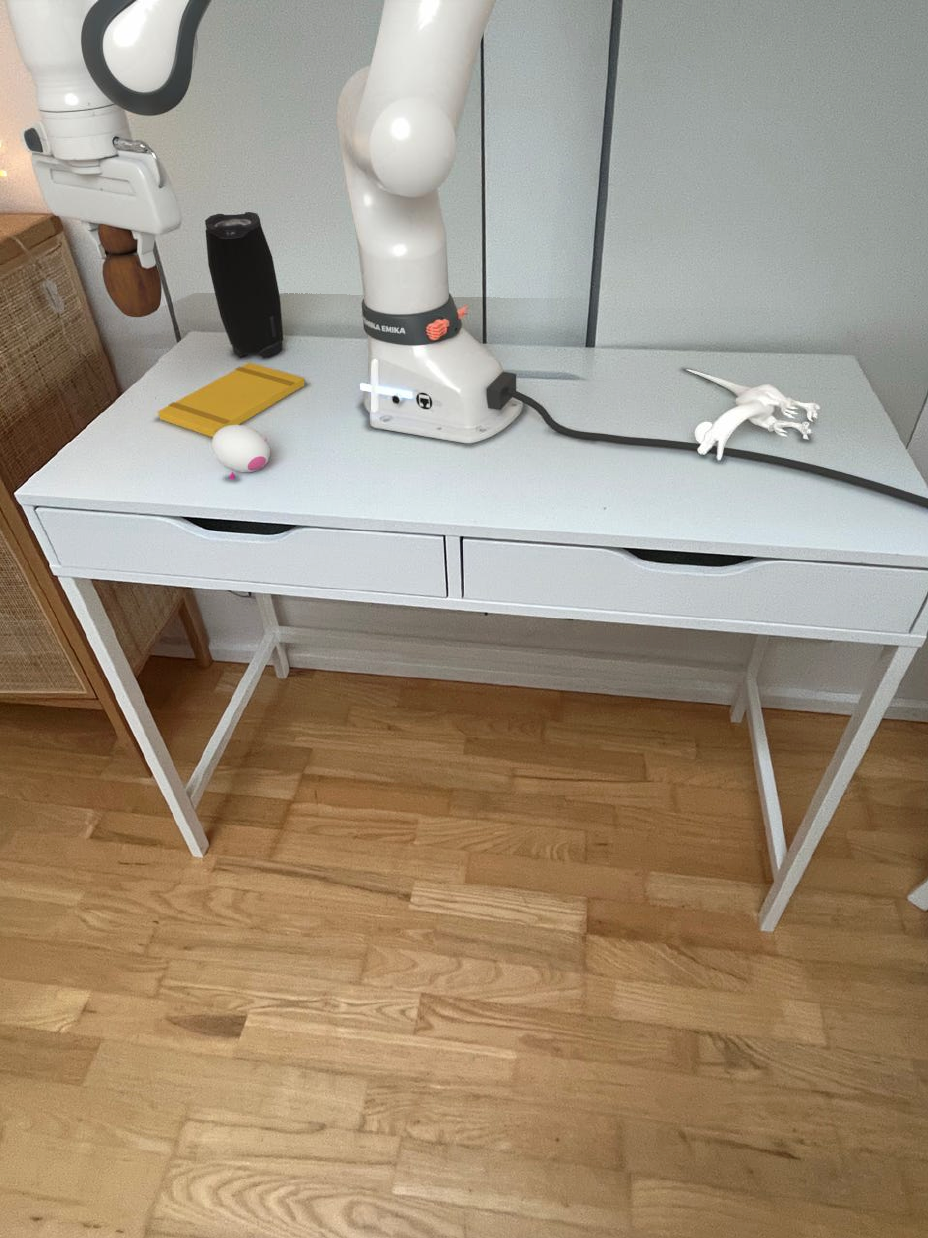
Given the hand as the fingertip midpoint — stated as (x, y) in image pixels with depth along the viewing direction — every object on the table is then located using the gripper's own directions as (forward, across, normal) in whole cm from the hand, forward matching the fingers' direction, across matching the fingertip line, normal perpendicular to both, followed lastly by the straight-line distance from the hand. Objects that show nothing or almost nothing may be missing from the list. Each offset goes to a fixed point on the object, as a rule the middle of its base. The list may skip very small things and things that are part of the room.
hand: (127, 262), depth 102 cm
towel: (+21, -4, -8) cm, 23 cm away
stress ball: (+21, -18, +5) cm, 28 cm away
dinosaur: (+22, -66, -35) cm, 78 cm away
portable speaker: (+21, +5, -23) cm, 31 cm away
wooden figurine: (+6, 0, 0) cm, 6 cm away
